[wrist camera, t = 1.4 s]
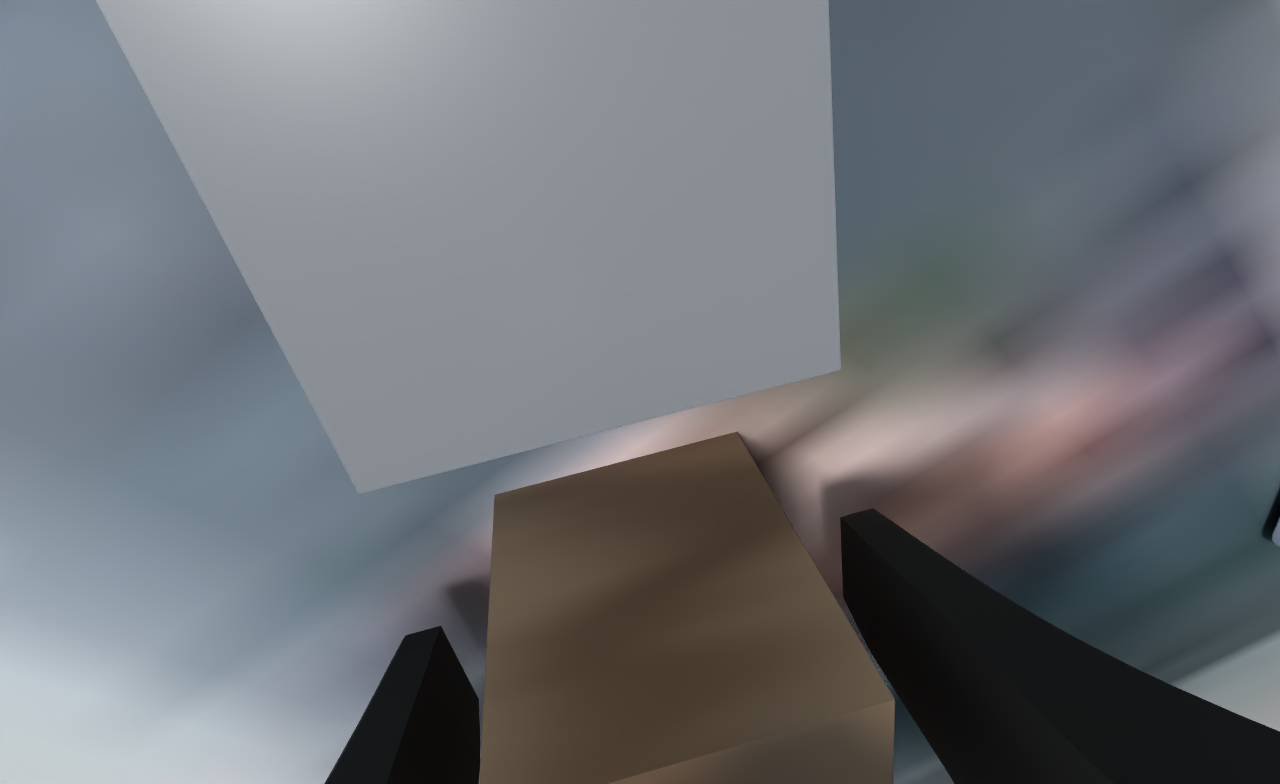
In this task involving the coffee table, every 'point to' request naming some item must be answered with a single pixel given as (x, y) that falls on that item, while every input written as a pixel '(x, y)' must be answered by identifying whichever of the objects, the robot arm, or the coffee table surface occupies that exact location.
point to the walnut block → (671, 635)
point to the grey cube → (510, 205)
